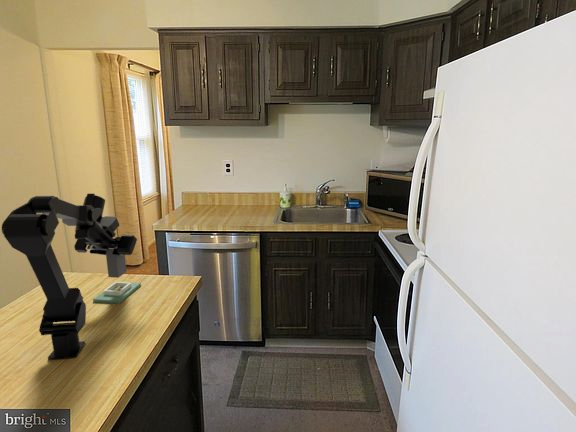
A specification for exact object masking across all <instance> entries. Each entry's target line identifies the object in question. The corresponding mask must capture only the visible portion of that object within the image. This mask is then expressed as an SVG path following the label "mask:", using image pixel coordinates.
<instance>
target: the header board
mask: <svg viewBox="0 0 576 432" xmlns="http://www.w3.org/2000/svg"><path fill="white" fill-rule="evenodd" d="M141 286H142V284H141V282H130V281H129V282H127V281H114V283H112V284H111V285H109V286H108V287H107V288H105V289H104V290H103V291H102V292H101V293H100V294H98V295H96V296H95V297H94V298H92V302H93V303H104V304H121V303H122V302H124V300H125V299H127V298H128V297H129V296H131V294H133V293H134V292H135V291H136V290H138V288H140V287H141Z"/></svg>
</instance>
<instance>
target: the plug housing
mask: <svg viewBox="0 0 576 432" xmlns="http://www.w3.org/2000/svg"><path fill="white" fill-rule="evenodd" d="M113 250H114V249H108V250H106V255H105V256H106V266H107V276H108V278H115V279H116V278H120V277H122V276H123V275H124V274H126V273H127V263H126V262H127V261H126V255H124V256H123V257H122V256H117V255H112V253H113Z"/></svg>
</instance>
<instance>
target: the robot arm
mask: <svg viewBox="0 0 576 432" xmlns="http://www.w3.org/2000/svg"><path fill="white" fill-rule="evenodd" d="M105 205H106V199H105V198H103V197H102V196H99V195H96V194H95V193H87V194H86V196H85V197H84V201H83V203H82V205H76V204H74V203H71V202H68V201H65V200H63V199H60V198H59V197H58V196H55V195H35V196H33V197H31V198H30V199H29V200H28V201H27V202H26V203H24V204H23V205H21V206H18V207H17V208H15V209H14V210H12V211H11V212H10V213H9V215H8V216H7V217H6V219H4V220H3V222H2V224H1V233H2V236H3V237H4V238H5V239H6V241H7V242H8V244H9V245H10V247H11V248H12V249H14V250H16V251H18V252H20V253H22V254H23V255H25V257H26V259H27V260H28V263H29V265H30V267H31V268H32V269H31V270H32V271H33V272H34V276H35V278H36V279H37V281H38V284H39V285H40V287H41V289H42V292H43V294H44V295H45V298H46V301H45V304H44V305H43V308H42V309H43V314H42V318H41V322H40V325H39V329H38V330H39V334H40V335H41V336H48V335H49V336H51V343H52V351H51V353H50V354H49V355H48V357H47V359H48V360H49V361H50V360H60V359H61V360H62V359H73V358H76V357H78V356H79V354H80V352H81V351H82V349H83V348H84V346H85V345H86V341H85V340H84V341H80V336H79V333H80V332H81V331H82V329H83V328H84V326H85V325H86V319H87V317H86V316H87V306H86V305H87V304H86V303H85V302H84V297H83V295H82V293H81V289H80V288H79V287H69V285H68V282H67V281H66V278H65V276H64V273H63V270H62V268H61V266H60V263H59V261H58V259H57V256H56V254H55V251H54V249H53V247H52V242H53V239H54V237H55V235H56V229H57V227H58V226H59V223H60V221H59V219H61V220H62V221H61V222H62V223H63V224H64V225H66V226H68V227H75V229H74V231H75V233H74V239H75V240H76V241H75V244H74V250H75V251H76V252H78V253H84V254H85V253H87V252H88V250H89V254H93V255H94V254H95V255H99V256H102V255H104V256H106V250H108V249H114V250H113V253H112V255H117V256H122V257H123V256H124V255H125V256H131V255H132V254H133V252H134V250H135V246H136V244H137V241H138V238H137V237H135V235H134V234H122V235H121V236H116V235H117V234H116V232H115V231H116V230H117V229H118V227H120V222H119V219H118V218H117V216H109V215H108V216H103V213H104V209H105Z"/></svg>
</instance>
